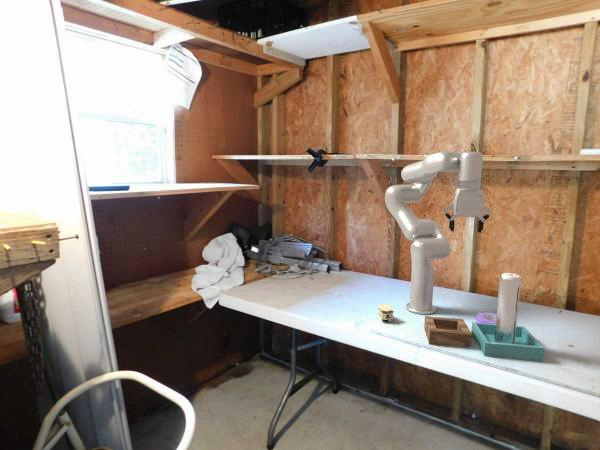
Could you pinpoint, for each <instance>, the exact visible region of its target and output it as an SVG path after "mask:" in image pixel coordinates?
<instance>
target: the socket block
mask: <svg viewBox="0 0 600 450" xmlns="http://www.w3.org/2000/svg"><path fill="white" fill-rule="evenodd" d="M423 325H424V327H423V329H424V332H426V333H425V335H426V339H427V342H428V345H434V346H443V345H444V346H446V347H454V348H455V347H456V348H466V349H467V348H468V349H472V340H473V336H472V333H471V330H470V329H469V327H468V325H467V323H466V322H465V320H464V319H463V318H453V317H439V316H429V315H428V316H427V315H425V316H424V324H423Z"/></svg>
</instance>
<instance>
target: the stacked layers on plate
mask: <svg viewBox="0 0 600 450" xmlns="http://www.w3.org/2000/svg"><path fill="white" fill-rule="evenodd" d="M394 309H395V308H394V307H392V306H390V305H388V304H378V308H377V310H378V312H377V315H378V317H377V318H379V319H380V320H381V321H383V320H385V321H388V323H392V322H393V318H394V314H395V311H394Z"/></svg>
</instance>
